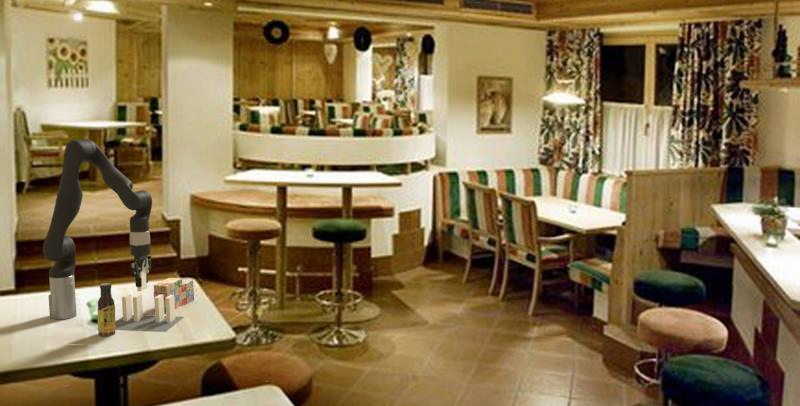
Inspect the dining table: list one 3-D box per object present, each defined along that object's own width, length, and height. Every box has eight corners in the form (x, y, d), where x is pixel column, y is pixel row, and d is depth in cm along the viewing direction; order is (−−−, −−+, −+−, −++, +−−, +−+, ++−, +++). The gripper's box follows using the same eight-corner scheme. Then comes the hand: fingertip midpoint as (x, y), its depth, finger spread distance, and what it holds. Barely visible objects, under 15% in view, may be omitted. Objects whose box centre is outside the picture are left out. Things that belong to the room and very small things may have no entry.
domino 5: (166, 322, 303) (165, 298, 301) (171, 318, 308) (170, 294, 306) (170, 322, 303) (169, 298, 301) (175, 318, 307) (174, 294, 306)
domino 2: (137, 291, 294) (136, 266, 292) (143, 287, 299) (142, 263, 297) (141, 291, 294) (140, 266, 292) (146, 287, 299) (145, 263, 297)
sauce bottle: (105, 338, 284) (102, 287, 281) (94, 335, 288) (91, 285, 284) (120, 334, 290) (117, 283, 287) (109, 331, 293) (106, 281, 290)
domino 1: (123, 320, 304) (121, 296, 303) (128, 317, 309) (127, 293, 308) (126, 321, 304) (125, 296, 303) (132, 317, 309) (131, 293, 308)
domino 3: (133, 321, 304) (132, 297, 302) (139, 317, 309) (138, 293, 307) (137, 321, 304) (136, 297, 302) (143, 317, 309) (141, 293, 307)
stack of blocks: (181, 299, 337) (180, 272, 335) (194, 300, 336) (193, 273, 334) (154, 313, 317) (153, 284, 315) (167, 314, 315) (166, 285, 313)
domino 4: (155, 322, 303) (154, 297, 302) (160, 318, 308) (159, 294, 306) (159, 322, 303) (158, 298, 301) (164, 318, 308) (163, 294, 306)
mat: (103, 330, 294) (103, 329, 294) (125, 315, 313) (125, 314, 312) (165, 332, 292) (165, 331, 291) (184, 317, 310) (184, 316, 310)
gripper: (139, 238, 301) (140, 279, 303) (122, 245, 287) (124, 289, 289) (157, 238, 300) (158, 280, 303) (141, 246, 286) (143, 290, 288)
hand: (141, 284), depth 296 cm, fingers closed on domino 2, 5 cm apart
